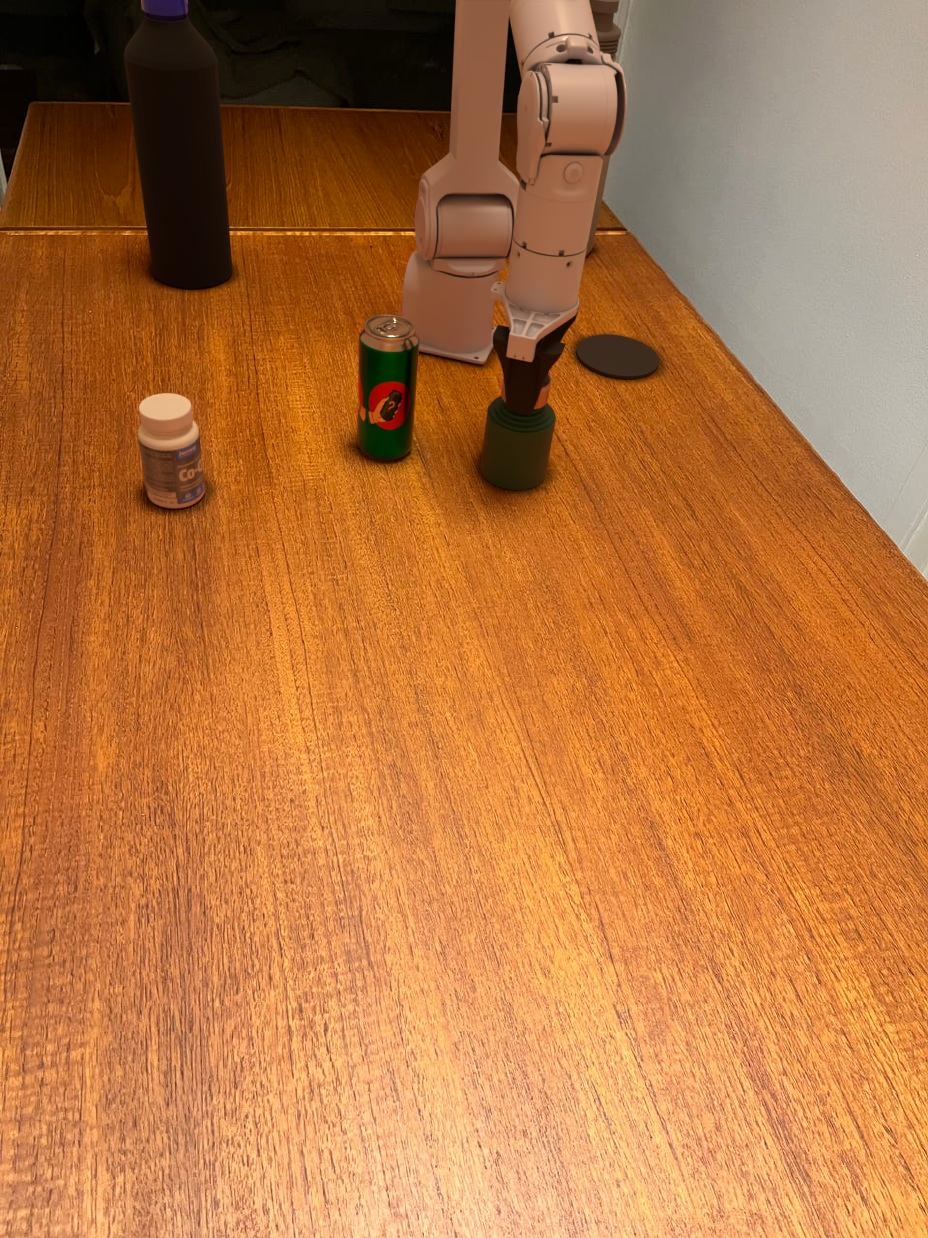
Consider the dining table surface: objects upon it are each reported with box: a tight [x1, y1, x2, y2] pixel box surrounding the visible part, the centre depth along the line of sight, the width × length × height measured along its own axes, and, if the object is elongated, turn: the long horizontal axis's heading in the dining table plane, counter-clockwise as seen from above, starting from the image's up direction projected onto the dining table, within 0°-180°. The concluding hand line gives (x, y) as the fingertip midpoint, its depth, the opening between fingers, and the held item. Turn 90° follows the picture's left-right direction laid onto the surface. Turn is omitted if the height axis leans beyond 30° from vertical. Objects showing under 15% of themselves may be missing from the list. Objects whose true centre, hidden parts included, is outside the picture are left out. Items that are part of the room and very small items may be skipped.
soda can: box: [356, 314, 420, 461], centre depth 85 cm, size 5×5×12 cm
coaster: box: [575, 333, 660, 380], centre depth 105 cm, size 9×9×1 cm
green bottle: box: [479, 395, 557, 491], centre depth 85 cm, size 6×6×9 cm
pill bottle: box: [137, 392, 206, 509], centre depth 78 cm, size 5×5×8 cm
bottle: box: [123, 0, 233, 290], centre depth 101 cm, size 9×9×28 cm
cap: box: [500, 373, 552, 410], centre depth 82 cm, size 4×4×2 cm
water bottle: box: [585, 0, 622, 256], centre depth 116 cm, size 10×10×28 cm
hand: (525, 397), depth 83 cm, fingers closed on cap, 4 cm apart
